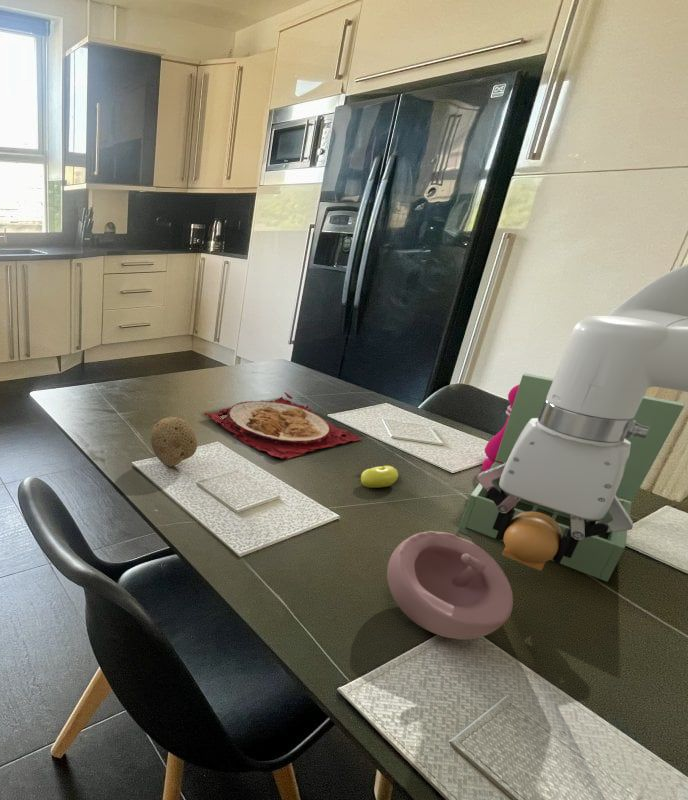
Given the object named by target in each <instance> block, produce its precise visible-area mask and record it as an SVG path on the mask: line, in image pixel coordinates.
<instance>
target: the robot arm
mask: <svg viewBox="0 0 688 800" xmlns="http://www.w3.org/2000/svg"><path fill="white" fill-rule="evenodd" d="M553 379H554V380H553V382H552V385H551V387H550V390H549V392H548V395H547V397H546V400H545V402H544V405H543V407H542V410H541V413H540V415H539V418H532V419H530V421H529V422H528V423H527V425H526V426H525V428H524V429H523V431H522V432H521V434H520V436H519V438H518V440H517V441H516V443H515V446H514V448H513V450H512V452H511V454H510V456H509V458H508V460H507V462H506V463H503V464H501V465H499V466H496V467H494V468H491V469H489V470H486V471H482V472H480V473H478V475H477V476H476V480H477V482H478V484H479V483H480V484H481V485H482V486H483V488H484V489H486V490H487V492H488V496H489V498H490V500H493V501H494V503H495V504H496V506H497V510H498V511H499V513H498V516H497V518H496V521H495V523H494V526H493V529H494V530H497V531H498V533H497V536H496V538H494V539H495V540H497V541H501V540H503V538H504V533H505V531H506V529H507V528H508V526H509V524H510V522H511V520H512V518H513V515H514V513H515V510H514V507H515V505H516V504H517V505H518V504H519V503H520V502H519V501H520V500H521V499H524V500H527V501H530V502H533V503H536V504H539V505H542V506H545V507H548V508H551V509H554V510H557V511H560V512H563V513H566V514H569V515H570V519H569V520H570V522H569V523H570V525H569V528H566V530H565V532H564V534H563V536H562V539H561V541H560V544H559V547H558V551H557V553H556V555H555V556H554V558H553V560H554V561H553V563H555V564H560V562H561V560H562V558H563V556H566V557H568V558H571V557H572V554H573V552H574V550H575V548H576V546H577V544H578V542H579V540H583V539H584V538H585V537H591V536H596V535H599V536H600V535H605V534H607V533H609V532H618V531H626V530H627V531H631V530H632V529H633V527H634V521H633V519H632V518H631V516H629V515H628V513H627V512H626V510H625V509H624V507H623V505H622V504H621V502H620V501H619V499H620V498H619V497H618V496H616V492H617V490H618V487H619V485H620V482H621V480H622V477H623V474H624V472H625V468H626V465H627V461H628V458H629V454H630V447H631V443H630V442H629V441H628V440H626V439H625V437H626V438H629V436H632V437H635V436H637V437H642V438H645V437H646V435H647V433H648V431H649V428H650V427H647V426H643V425H640V424H639V423H636V420H633V418H634V417H635V414H636V412H637V410H638V408H639V406H640V404H641V402H642V400H643V397H644V396H646V394H647V391H648V390H649V389H650V388H653V387H654V388H655V387H656V388H663V389H668V390H674V391H680V392H686V393H688V263H686V264H683V265H681V266H678V267H676V268H674V269H672V270H670V271H668V272H666V273H664V274H662V275H660V276H658V277H657V278H654V279H653V280H652V281H650V282H648V283H647V284H646V285H644V286H643V287H641V288H640V289H638V290H637V291H636V292H634V293H633V294H632V295H630V296H629V297H628V298H626V299H625V300H623V301H622V302H621V303H620V304H619V305H617V306H616V307H614V309H612V310H611V311H610V312H609V313H608V314H606V315H593V316H592V315H591V316H586V317H584V318H582V319H581V320H579V321H578V322H577V323H576V324H575V325H574V327H573V330H572V332H571V334H570V336H569V338H568V341H567V344H566V347H565V349H564V352H563V353H562V357H561V359H560V362H559V364H558V367H557V370H556V372H555V375H554V377H553ZM500 477H501V478H500ZM497 478H500V482H499V486H498V485H497V484H496V482H495V480H494V479H497ZM504 491H505V492H506V493H508V494H507V495H506V494H505V492H504ZM618 498H619V499H618ZM517 505H516V506H517ZM515 508H516V507H515ZM607 512H609V514H610V515H611V517H612V518H610V519H606V520H601V519H602V518H603V517H604V516H605V515H606V513H607ZM587 520H594V521H589V522H587Z"/></svg>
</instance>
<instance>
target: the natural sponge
mask: <svg viewBox="0 0 688 800" xmlns="http://www.w3.org/2000/svg"><path fill="white" fill-rule="evenodd" d="M149 438H150V439H149V440H150V444H151V448H152V450H153V452H154V454H155V456H156V458H157V459H158V460H159V461H160V462H161V463H162V464H163V465H164V466H166V467H168V466H169V468H172V467H175V466H178V465H179V464H180V463H181V462H182V461H184V460H187V459H189V458H191V457H193V456H194V454H195V453H197V452H196V451H197V448H198V440H197V437H196V434H195V431H194V429H193V427H192V426H191V425H190V424H189V423H188V422H187V421H186V420H184V419H182V418H179V417H175V416H169V417H165V418H161V419H160V420H159V421H158V422H156V423H155V424H154V425H153V427H152V428H151V431H150V434H149Z"/></svg>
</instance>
